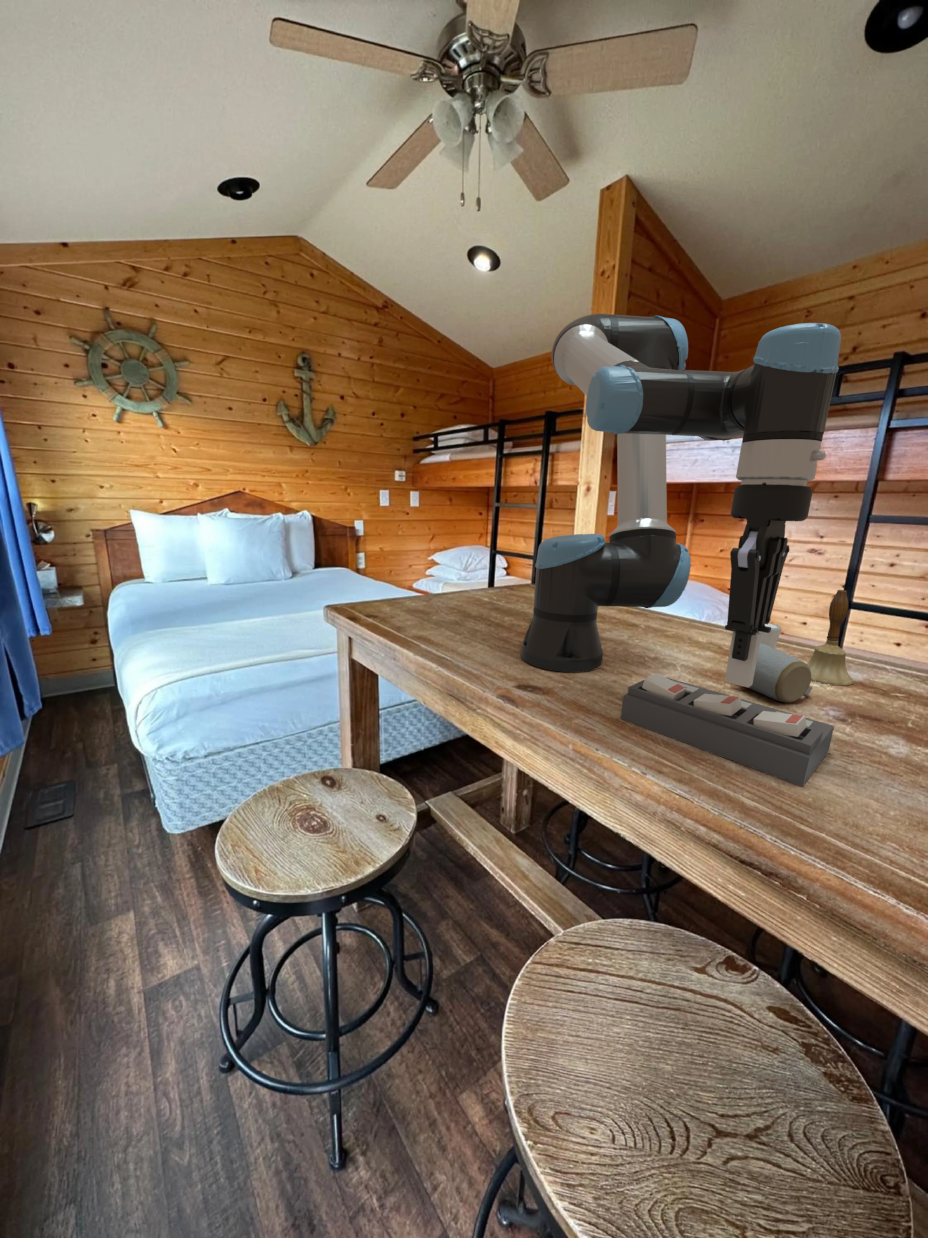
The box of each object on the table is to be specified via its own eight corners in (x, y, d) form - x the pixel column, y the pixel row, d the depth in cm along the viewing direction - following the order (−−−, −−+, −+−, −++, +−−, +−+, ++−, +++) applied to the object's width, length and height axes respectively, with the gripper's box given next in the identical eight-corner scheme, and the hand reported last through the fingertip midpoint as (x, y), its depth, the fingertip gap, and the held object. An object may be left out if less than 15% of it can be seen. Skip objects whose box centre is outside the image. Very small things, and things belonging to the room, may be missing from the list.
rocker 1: (641, 687, 69) (645, 678, 68) (654, 681, 71) (657, 672, 70) (671, 703, 66) (675, 694, 65) (683, 696, 68) (686, 687, 68)
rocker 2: (754, 730, 59) (753, 718, 59) (763, 722, 61) (763, 710, 61) (797, 736, 56) (797, 723, 55) (806, 727, 58) (805, 714, 58)
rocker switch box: (620, 718, 70) (624, 688, 69) (659, 697, 78) (663, 669, 77) (802, 787, 54) (811, 748, 53) (828, 751, 62) (836, 717, 61)
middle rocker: (694, 711, 64) (693, 699, 64) (705, 703, 66) (704, 692, 66) (731, 715, 60) (730, 703, 60) (741, 708, 63) (740, 696, 63)
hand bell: (834, 688, 84) (855, 596, 80) (786, 672, 92) (804, 587, 88) (863, 682, 88) (885, 593, 84) (815, 667, 95) (833, 585, 91)
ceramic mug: (775, 707, 75) (785, 659, 74) (731, 687, 83) (739, 643, 81) (824, 701, 79) (835, 655, 77) (778, 683, 86) (787, 640, 85)
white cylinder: (728, 652, 102) (734, 619, 101) (759, 652, 103) (765, 620, 101) (750, 664, 96) (757, 628, 94) (783, 663, 96) (790, 629, 95)
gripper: (796, 481, 48) (754, 706, 54) (827, 486, 57) (788, 679, 63) (715, 481, 54) (685, 686, 59) (755, 485, 62) (725, 664, 68)
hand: (738, 682), depth 61 cm, fingers closed
